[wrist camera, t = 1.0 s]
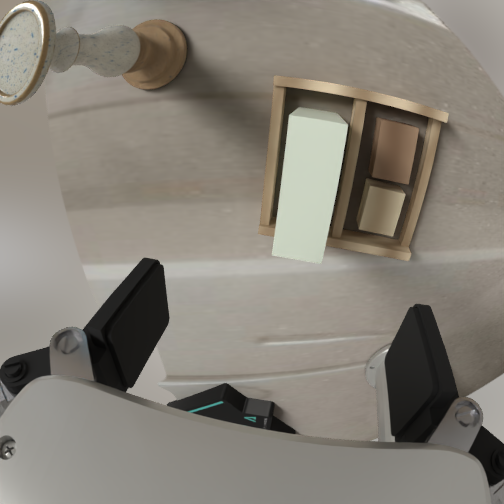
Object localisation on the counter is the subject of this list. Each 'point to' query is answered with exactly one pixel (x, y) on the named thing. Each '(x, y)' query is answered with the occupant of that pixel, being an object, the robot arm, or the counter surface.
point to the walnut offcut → (393, 150)
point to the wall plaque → (232, 408)
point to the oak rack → (351, 167)
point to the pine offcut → (380, 207)
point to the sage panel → (309, 183)
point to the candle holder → (83, 51)
